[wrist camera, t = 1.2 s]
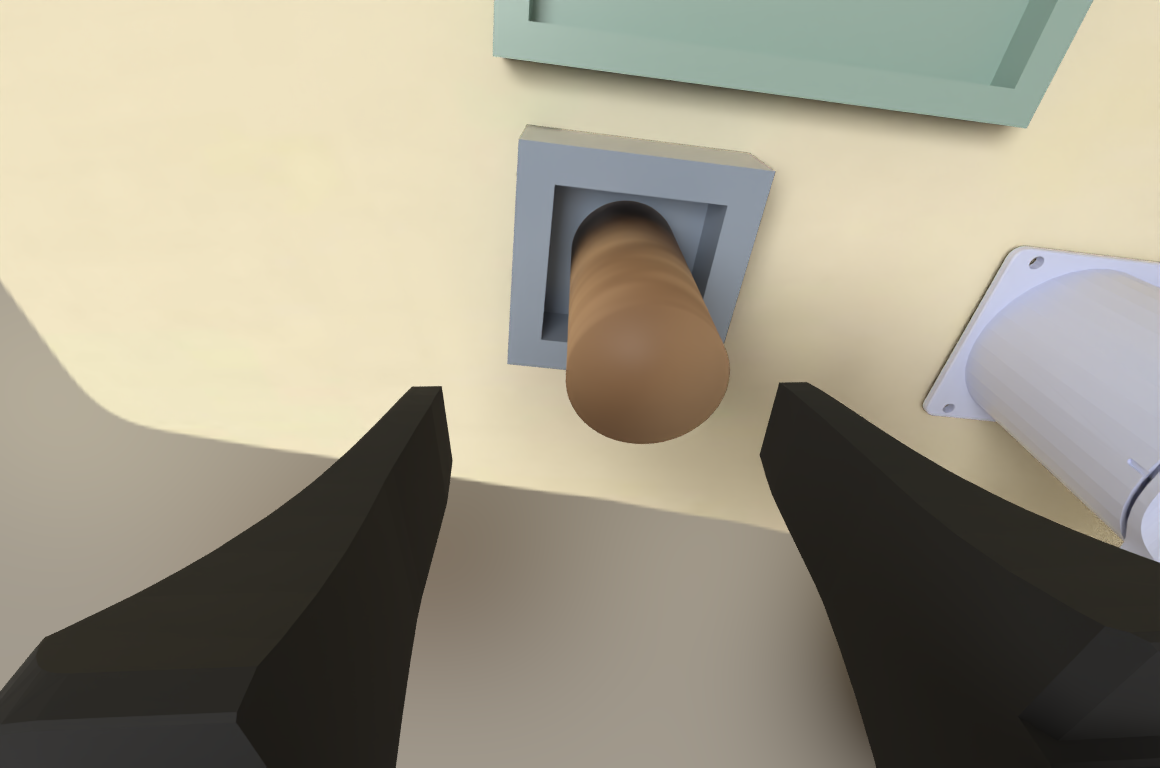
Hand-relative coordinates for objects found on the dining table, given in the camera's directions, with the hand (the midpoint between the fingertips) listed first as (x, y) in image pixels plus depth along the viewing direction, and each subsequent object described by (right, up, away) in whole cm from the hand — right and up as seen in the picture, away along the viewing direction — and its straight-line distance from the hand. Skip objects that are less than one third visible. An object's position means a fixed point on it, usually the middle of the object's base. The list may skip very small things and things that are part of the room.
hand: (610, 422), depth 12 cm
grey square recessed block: (+1, +6, +10) cm, 11 cm away
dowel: (+1, +6, +9) cm, 11 cm away
